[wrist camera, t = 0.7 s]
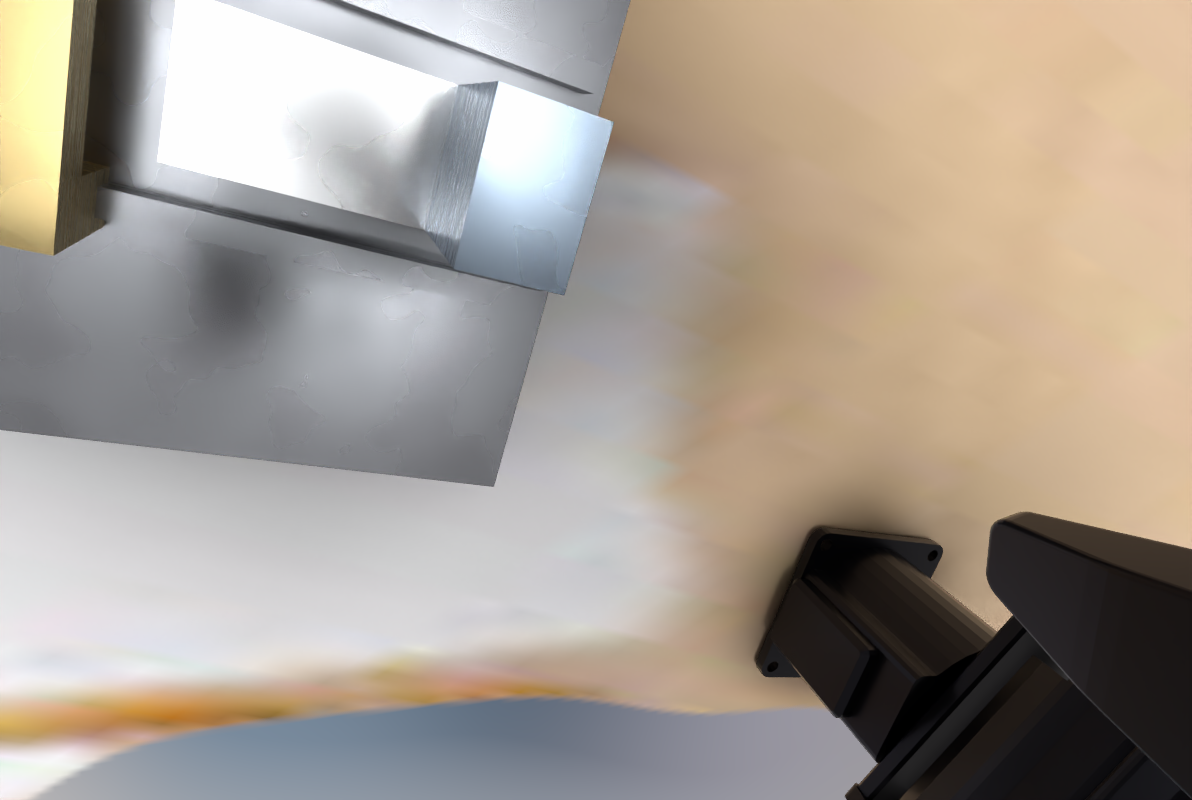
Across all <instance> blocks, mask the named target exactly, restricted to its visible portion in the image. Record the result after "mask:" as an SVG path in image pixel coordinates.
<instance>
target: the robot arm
mask: <svg viewBox="0 0 1192 800" xmlns="http://www.w3.org/2000/svg"><path fill="white" fill-rule="evenodd" d="M824 540H825V541H824ZM823 541H824V542H823ZM822 542H823V543H822ZM942 554H943V548H942V547H941V546H940V545H939V544H937V543H936V542H935V541H933V540H931V539H922V538H913V537H904V536H896V535H887V534H878V533H869V532H860V531H851V530H843V529H834V528H819V529H817V530H816V531H814V532H813V533H812V535H811V536H810V538H809V540H808V542H807V545H806V547H805V549H804V552H803V554H802V556H801V559H800V561H799V563H798V566H797V568H796V570H795V573H794V575H793V577H792V579H791V582H790V584H789V586H788V589H787V591H786V593H785V596H784V598H783V600H782V603H781V605H780V607H779V610H778V612H777V614H776V617H775V619H774V621H773V624H772V626H771V628H770V631H769V633H768V635H767V638H766V640H765V642H764V645H763V647H762V649H761V651H760V654H759V656H758V658H757V662H756V665H757V668H758V669H759V670H760V672H761V673H762V674H763V675H764V676H765V677H802V678H803V680H804V681H805V682H806V683H807V684H808V686H809V687H810V688H811V689H812V690H813V692H814V693H815V694H816V695H817V697H818V698H819V699H820V700H821V701H822V703H823V704H824V705H825V706H826V708H827V709H828V710H829V711H830V712H831V714H832V715H833V716H835V717H836V718H840V719H841V720H842V721H843V722H844V724H845V725H846V726H847V727H848V728H849V730H850V731H851V732H852V733H853V735H854V736H855V737H856V738H857V739H858V741H859V742H860V743H861V744H862V745H863V747H864V748H865V749H866V750H867V751H868V753H869V754H870V755H871V756H872V758H873V759H874V760H875V761H876V762H877V763H878V764H877V765H876V766H875V767H874V768H873V769H872V770H871V771H870V773H869V774H868V775H867V776H866V777H865V778H864V779H863V780H862V781H861V783H860V784H857V783H855V784H854V785H853V787H852V788H851V789H850V790H849V791H848V792H847V793H846V794H845V797H846V799H847V800H1192V549H1189V548H1184V547H1180V546H1176V545H1171V544H1167V543H1163V542H1158V541H1154V540H1149V539H1145V538H1141V537H1136V536H1132V535H1128V534H1123V533H1119V532H1115V531H1110V530H1106V529H1102V528H1097V527H1093V526H1088V525H1084V524H1080V523H1075V522H1071V521H1067V520H1062V519H1058V518H1054V517H1049V516H1045V515H1041V514H1036V513H1032V512H1019V513H1016V514H1013V515H1010V516H1008V517H1005V518H1002V519H1000V520H997V521H996V522H994V524H993V525H992V527H991V530H990V537H989V547H988V557H987V567H986V576H987V580H988V583H989V585H990V587H991V589H992V591H993V592H994V593H995V595H996V596H997V597H998V598H999V599H1000V601H1001V602H1002V603H1003V604H1004V605H1005V606H1006V607H1007V608H1008V610H1009V611H1010V612H1011V613H1012V614H1013V616H1012V617H1011V618H1010V619H1009V620H1008V621H1007V622H1006V623H1005V625H1004V626H1003V627H1002V628H1001V629H1000V630H999V631H998V632H997V631H995V630H994V629H993V628H992V627H990V626H989V625H988V624H987V623H985V622H984V621H983V620H982V619H980V618H979V617H978V616H977V615H975V614H974V613H973V612H972V611H970V610H969V609H968V608H967V607H965V606H964V605H963V604H962V603H960V602H959V601H958V600H957V599H955V598H954V597H953V596H952V595H950V594H949V593H948V592H947V591H945V590H944V589H943V588H942V587H940V586H939V585H938V584H936V583H935V582H934V581H933V580H931V577H932V575H933V573H934V571H935V569H936V567H937V565H938V563H939V561H940V559H941V557H942Z"/></svg>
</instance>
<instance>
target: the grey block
mask: <svg viewBox="0 0 1192 800" xmlns="http://www.w3.org/2000/svg"><path fill="white" fill-rule="evenodd" d="M613 124H614V122H612V121H609V120H607V119H604V118H601V117H598V116H595V115H593V114H590V113H587V112H584V111H581V110H579V109H576V108H573V107H570V106H567V105H565V104H562V103H559V102H556V101H553V100H551V99H548V98H545V97H542V96H539V95H536V94H534V93H531V92H528V91H525V90H522V89H520V88H517V87H514V86H511V85H508V84H506V83H503V82H500V81H494V82H484V83H474V84H464V85H456V84H453V83H450V82H447V81H444V80H441V79H439V78H436V77H433V76H430V75H427V74H424V73H421V72H418V71H415V70H413V69H410V68H407V67H404V66H401V65H398V64H395V63H392V62H389V61H386V60H384V59H381V58H378V57H375V56H372V55H369V54H366V53H363V52H360V51H358V50H355V49H352V48H349V47H346V46H343V45H340V44H337V43H334V42H332V41H329V40H326V39H323V38H320V37H317V36H314V35H311V34H308V33H305V32H303V31H300V30H297V29H294V28H291V27H288V26H285V25H282V24H279V23H277V22H274V21H271V20H268V19H265V18H262V17H259V16H256V15H253V14H251V13H248V12H245V11H242V10H239V9H236V8H233V7H230V6H227V5H224V4H222V3H219V2H216V1H213V0H176V6H175V14H174V23H173V31H172V40H171V49H170V57H169V66H168V75H167V83H166V92H165V100H164V109H163V118H162V126H161V135H160V143H159V152H158V161H157V162H161V163H165V164H169V165H173V166H177V167H180V168H184V169H188V170H192V171H196V172H200V173H204V174H208V175H212V176H216V177H219V178H223V179H227V180H231V181H235V182H239V183H243V184H247V185H251V186H255V187H258V188H262V189H266V190H270V191H274V192H278V193H282V194H286V195H290V196H293V197H297V198H301V199H305V200H309V201H313V202H317V203H321V204H325V205H329V206H332V207H336V208H340V209H344V210H348V211H352V212H356V213H360V214H364V215H368V216H371V217H375V218H379V219H383V220H387V221H391V222H395V223H399V224H403V225H406V226H410V227H414V228H418V229H422V230H425V231H426V232H427V234H428V235H429V236H430V238H431V239H432V241H433V242H434V243H435V245H436V246H437V247H438V249H439V250H440V251H441V253H442V254H443V255H444V257H445V258H446V260H447V261H448V262H449V264H450V265H451V266H452V268H453V269H455V270H460V271H464V272H468V273H472V274H476V275H481V276H485V277H489V278H493V279H497V280H502V281H506V282H510V283H514V284H518V285H523V286H527V287H531V288H535V289H539V290H544V291H548V292H552V293H556V294H560V295H564V294H565V291H566V287H567V284H568V280H569V277H570V273H571V270H572V266H573V263H574V259H575V256H576V252H577V249H578V245H579V242H580V238H581V235H582V232H583V228H584V225H585V221H586V218H587V214H588V211H589V207H590V204H591V200H592V197H593V193H594V190H595V186H596V183H597V179H598V176H599V173H600V169H601V166H602V162H603V159H604V155H605V152H606V148H607V145H608V141H609V138H610V134H611V131H612V127H613Z"/></svg>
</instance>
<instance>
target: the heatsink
mask: <svg viewBox="0 0 1192 800" xmlns="http://www.w3.org/2000/svg"><path fill="white" fill-rule="evenodd" d="M213 1H216V2H219V3H222V4H224V5H227V6H230V7H233V8H236V9H239V10H242V11H245V12H248V13H251V14H253V15H256V16H259V17H262V18H265V19H268V20H271V21H274V22H277V23H279V24H282V25H285V26H288V27H291V28H294V29H297V30H300V31H303V32H305V33H308V34H311V35H314V36H317V37H320V38H323V39H326V40H329V41H332V42H334V43H337V44H340V45H343V46H346V47H349V48H352V49H355V50H358V51H360V52H363V53H366V54H369V55H372V56H375V57H378V58H381V59H384V60H386V61H389V62H392V63H395V64H398V65H401V66H404V67H407V68H410V69H413V70H415V71H418V72H421V73H424V74H427V75H430V76H433V77H436V78H439V79H441V80H444V81H447V82H450V83H453V84H456V85H464V84H474V83H484V82H494V81H500V82H503V83H506V84H508V85H511V86H514V87H517V88H520V89H522V90H525V91H528V92H531V93H534V94H536V95H539V96H542V97H545V98H548V99H551V100H553V101H556V102H559V103H562V104H565V105H567V106H570V107H573V108H576V109H579V110H581V111H584V112H587V113H590V114H593V115H595V116H598V114H599V110H600V107H601V103H602V100H603V96H604V93H605V89H606V86H607V82H608V78H609V75H610V71H611V68H612V64H613V61H614V57H615V54H616V50H617V46H618V43H619V39H620V36H621V32H622V29H623V25H624V22H625V18H626V14H627V11H628V7H629V4H630V0H213ZM175 6H176V0H0V430H6V431H15V432H24V433H32V434H41V435H50V436H59V437H67V438H76V439H85V440H93V441H102V442H111V443H119V444H128V445H137V446H145V447H154V448H163V449H171V450H180V451H189V452H197V453H206V454H215V455H223V456H232V457H241V458H249V459H258V460H267V461H275V462H284V463H293V464H301V465H310V466H319V467H327V468H336V469H345V470H353V471H362V472H371V473H380V474H388V475H397V476H406V477H414V478H423V479H432V480H440V481H449V482H458V483H466V484H475V485H484V486H492V487H494V484H495V480H496V477H497V473H498V469H499V466H500V462H501V459H502V455H503V452H504V448H505V445H506V441H507V437H508V434H509V430H510V427H511V423H512V420H513V416H514V413H515V409H516V405H517V402H518V398H519V395H520V391H521V388H522V384H523V381H524V377H525V373H526V370H527V366H528V363H529V359H530V356H531V352H532V349H533V345H534V341H535V338H536V334H537V331H538V327H539V324H540V320H541V317H542V313H543V309H544V306H545V302H546V299H547V295H548V291H544V290H539V289H535V288H531V287H527V286H523V285H518V284H514V283H510V282H506V281H502V280H497V279H493V278H489V277H485V276H481V275H476V274H472V273H468V272H464V271H460V270H455V269H453V268H452V266H451V265H450V264H449V262H448V261H447V260H446V258H445V257H444V255H443V254H442V253H441V251H440V250H439V249H438V247H437V246H436V245H435V243H434V242H433V241H432V239H431V238H430V236H429V235H428V234H427V232H426V231H425V230H422V229H418V228H414V227H410V226H406V225H403V224H399V223H395V222H391V221H387V220H383V219H379V218H375V217H371V216H368V215H364V214H360V213H356V212H352V211H348V210H344V209H340V208H336V207H332V206H329V205H325V204H321V203H317V202H313V201H309V200H305V199H301V198H297V197H293V196H290V195H286V194H282V193H278V192H274V191H270V190H266V189H262V188H258V187H255V186H251V185H247V184H243V183H239V182H235V181H231V180H227V179H223V178H219V177H216V176H212V175H208V174H204V173H200V172H196V171H192V170H188V169H184V168H180V167H177V166H173V165H169V164H165V163H161V162H157V161H158V152H159V143H160V135H161V126H162V118H163V109H164V100H165V92H166V83H167V75H168V66H169V57H170V49H171V40H172V31H173V23H174V14H175Z"/></svg>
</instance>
